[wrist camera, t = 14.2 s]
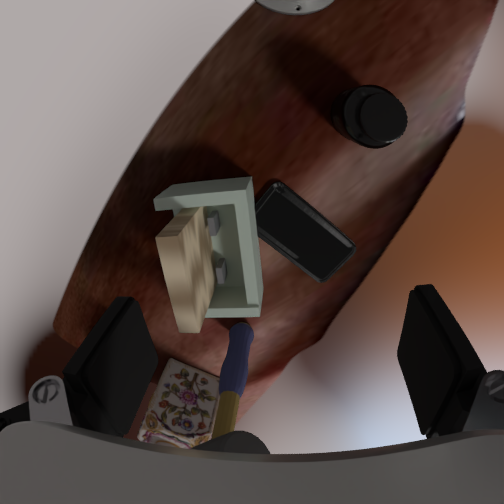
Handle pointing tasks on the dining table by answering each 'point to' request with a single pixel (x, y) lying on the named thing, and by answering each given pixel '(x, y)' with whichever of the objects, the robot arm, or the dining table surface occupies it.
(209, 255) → the wooden block
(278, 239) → the phone
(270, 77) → the dining table surface
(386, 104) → the supplement bottle
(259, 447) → the rubber mallet
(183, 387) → the decorative jar
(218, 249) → the cabinet
